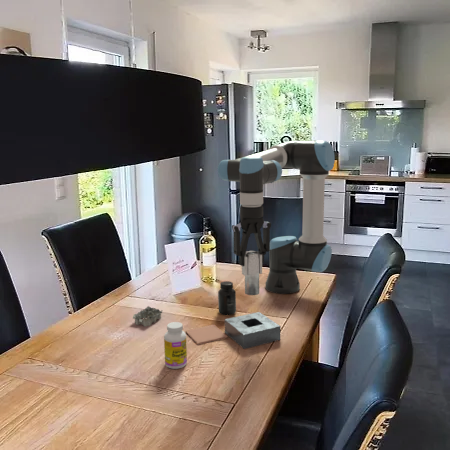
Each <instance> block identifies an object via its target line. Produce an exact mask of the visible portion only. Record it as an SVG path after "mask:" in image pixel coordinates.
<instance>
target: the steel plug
mask: <svg viewBox="0 0 450 450" xmlns="http://www.w3.org/2000/svg"><path fill="white" fill-rule="evenodd" d="M245 256H247V276H244V294H245V295H248V296H257V295H259V294H260V274H259V252H258V250H249V251H248V250H246V254H245Z"/></svg>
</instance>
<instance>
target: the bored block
mask: <svg viewBox="0 0 450 450" xmlns="http://www.w3.org/2000/svg"><path fill="white" fill-rule="evenodd" d="M224 334H225V335H227V337H229V338H230V339H231V340H232V341H234V342H235V343H236V344H237V345H239V346H240V347H241V348H242V349H244V350H246V349H250V348H255V347H257V346H261V345H265V344H270V343H273V341H274V342H278V341H281V325H279V324H278V323H276V322H275V321H274V320H272V319H270V318H269V317H268V316H266V315H264V314H263V313H261V312H260V311H257V312H252V313H247V314H244V315H238V316H234V317H229V318H225V319H224ZM277 340H278V341H277Z"/></svg>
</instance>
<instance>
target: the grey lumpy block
mask: <svg viewBox="0 0 450 450" xmlns="http://www.w3.org/2000/svg"><path fill="white" fill-rule="evenodd" d="M162 314H163V310H162V309H161V310H160V309H159V308H154V307H150V306H149V305H148V306H146V307H145V308H144V309H141V310H140V311H139V312H138V313H135V314H133V317H132V319H134V323H135V326H139V325H142V326H143V327H150V326H152V323H156V322H157V320H160V319H162ZM141 318H144V319H141Z"/></svg>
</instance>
